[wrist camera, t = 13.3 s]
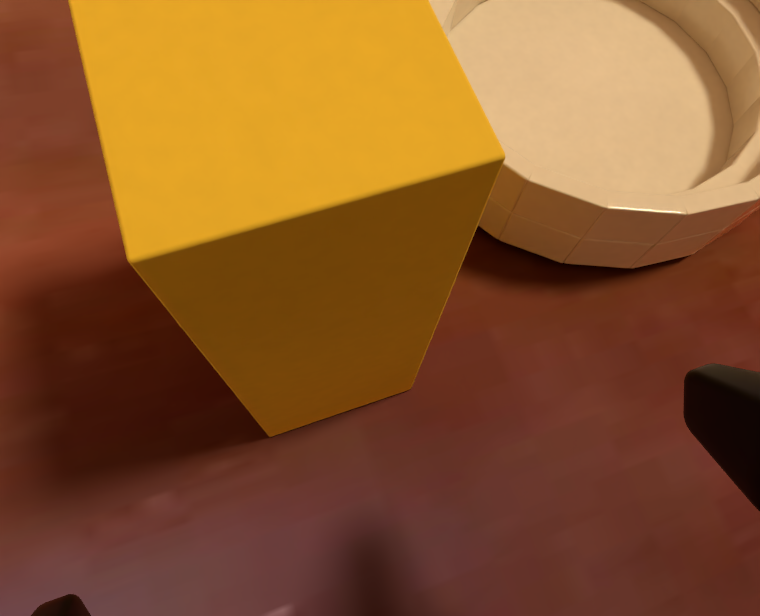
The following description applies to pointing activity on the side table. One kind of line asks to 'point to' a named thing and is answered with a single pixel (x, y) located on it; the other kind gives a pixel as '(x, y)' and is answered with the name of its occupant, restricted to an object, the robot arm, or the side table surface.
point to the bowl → (615, 122)
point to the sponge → (291, 184)
